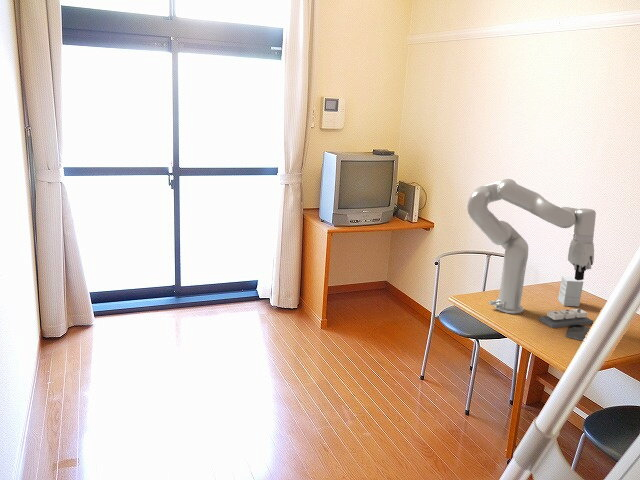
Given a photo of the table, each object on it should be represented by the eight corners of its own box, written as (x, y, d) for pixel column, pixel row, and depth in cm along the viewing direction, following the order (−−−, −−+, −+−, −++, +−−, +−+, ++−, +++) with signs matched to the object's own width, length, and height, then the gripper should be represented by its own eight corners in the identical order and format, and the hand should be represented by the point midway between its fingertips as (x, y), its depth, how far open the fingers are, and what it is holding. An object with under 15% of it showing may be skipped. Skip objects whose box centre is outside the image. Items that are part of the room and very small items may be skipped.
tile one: (554, 319, 212) (555, 315, 211) (546, 315, 216) (547, 310, 215) (563, 319, 213) (564, 314, 212) (555, 314, 217) (556, 310, 216)
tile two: (566, 318, 213) (567, 314, 213) (558, 314, 217) (559, 309, 217) (575, 317, 214) (575, 313, 214) (567, 313, 219) (568, 309, 218)
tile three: (577, 317, 215) (578, 313, 214) (569, 313, 219) (570, 308, 218) (586, 316, 216) (587, 312, 215) (578, 312, 220) (579, 308, 220)
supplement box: (573, 301, 241) (577, 276, 238) (579, 307, 234) (584, 281, 231) (557, 300, 242) (561, 275, 238) (563, 305, 235) (567, 280, 231)
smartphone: (589, 327, 211) (585, 340, 198) (589, 329, 212) (585, 342, 198) (570, 322, 215) (565, 335, 202) (570, 324, 215) (564, 337, 202)
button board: (551, 327, 210) (552, 324, 210) (539, 320, 218) (539, 316, 217) (592, 323, 216) (593, 320, 215) (578, 316, 223) (579, 313, 223)
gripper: (562, 235, 216) (559, 275, 220) (589, 243, 202) (585, 285, 206) (577, 233, 218) (573, 273, 222) (604, 241, 204) (600, 283, 208)
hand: (579, 279), depth 214 cm, fingers closed
